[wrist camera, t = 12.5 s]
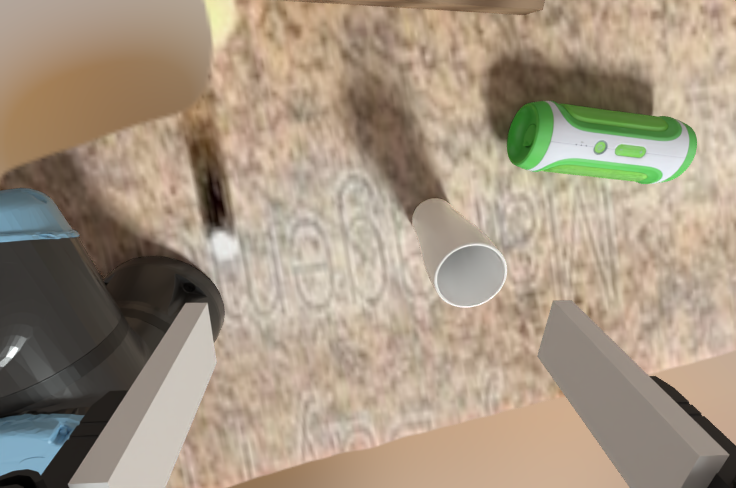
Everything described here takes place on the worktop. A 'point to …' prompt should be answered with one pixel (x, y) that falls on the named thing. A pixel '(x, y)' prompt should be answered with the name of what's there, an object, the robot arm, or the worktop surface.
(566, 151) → the speaker
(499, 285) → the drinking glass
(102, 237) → the worktop surface
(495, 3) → the base
